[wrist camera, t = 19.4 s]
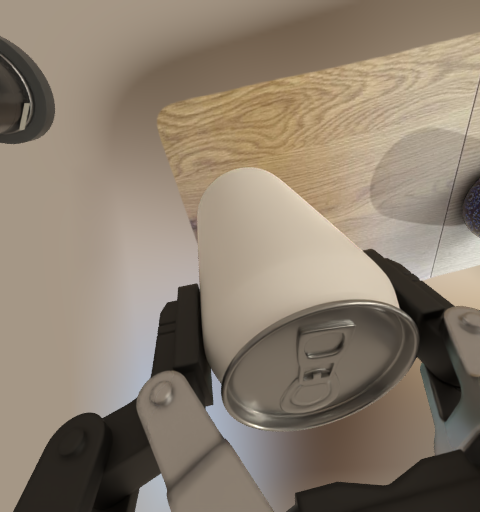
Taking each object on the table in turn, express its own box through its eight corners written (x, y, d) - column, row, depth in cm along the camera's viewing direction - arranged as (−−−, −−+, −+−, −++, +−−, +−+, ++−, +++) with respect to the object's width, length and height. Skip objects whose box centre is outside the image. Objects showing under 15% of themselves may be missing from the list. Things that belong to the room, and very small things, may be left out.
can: (201, 259, 18) (213, 454, 8) (191, 168, 15) (189, 308, 5) (286, 251, 19) (393, 418, 9) (295, 162, 16) (482, 271, 6)
